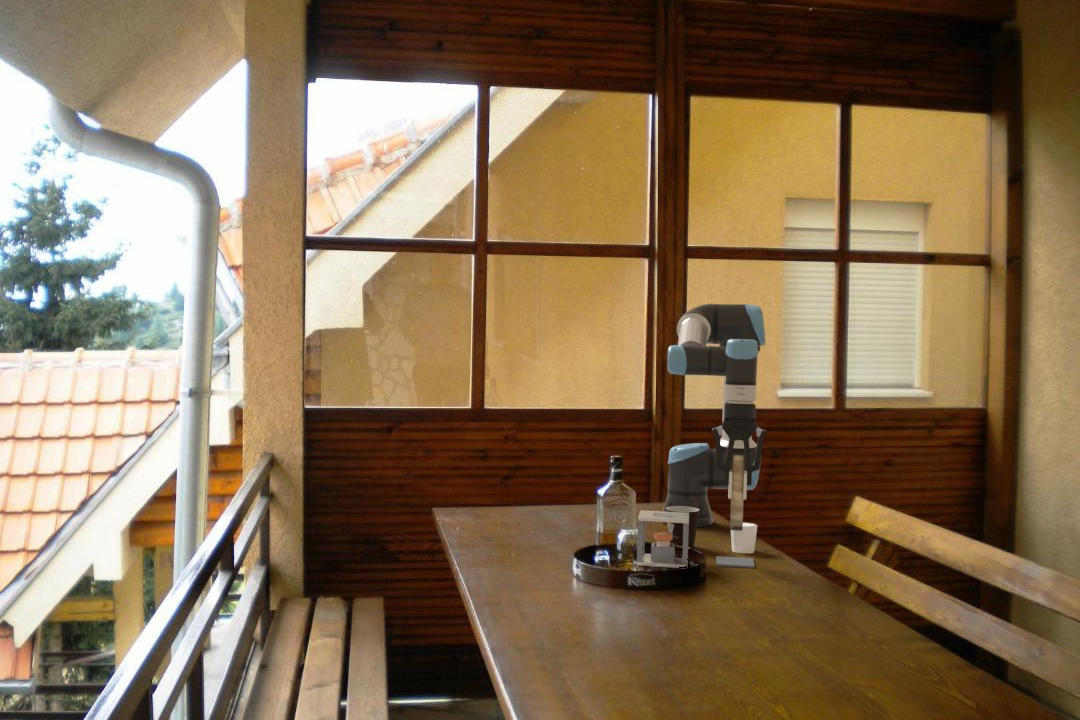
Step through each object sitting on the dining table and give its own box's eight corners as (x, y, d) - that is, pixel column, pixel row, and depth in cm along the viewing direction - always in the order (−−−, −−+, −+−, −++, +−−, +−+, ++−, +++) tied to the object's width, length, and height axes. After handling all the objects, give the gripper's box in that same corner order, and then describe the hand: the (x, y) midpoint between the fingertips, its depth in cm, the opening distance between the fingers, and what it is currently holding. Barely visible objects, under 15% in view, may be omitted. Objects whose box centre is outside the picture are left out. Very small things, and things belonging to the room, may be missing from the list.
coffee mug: (700, 551, 266) (701, 512, 266) (666, 550, 267) (667, 511, 266) (694, 541, 278) (695, 504, 278) (662, 540, 278) (663, 503, 278)
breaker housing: (639, 556, 258) (640, 510, 258) (687, 559, 256) (689, 512, 256) (636, 565, 248) (638, 517, 248) (687, 568, 246) (688, 520, 246)
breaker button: (654, 555, 255) (654, 532, 255) (672, 556, 254) (672, 533, 254) (653, 558, 250) (653, 535, 250) (671, 560, 250) (672, 536, 250)
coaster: (716, 558, 259) (716, 556, 259) (752, 560, 257) (752, 558, 257) (716, 566, 250) (716, 564, 250) (754, 568, 248) (754, 566, 248)
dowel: (729, 528, 255) (732, 455, 254) (742, 528, 254) (744, 455, 254) (730, 530, 252) (732, 456, 251) (742, 530, 251) (744, 457, 251)
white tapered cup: (749, 555, 263) (750, 527, 263) (724, 551, 267) (725, 524, 267) (761, 551, 269) (761, 524, 268) (736, 547, 273) (737, 520, 273)
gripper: (707, 402, 250) (704, 498, 250) (774, 404, 247) (771, 502, 248) (707, 400, 257) (704, 494, 258) (772, 402, 255) (769, 497, 255)
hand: (737, 498), depth 253 cm, fingers closed on dowel, 3 cm apart
